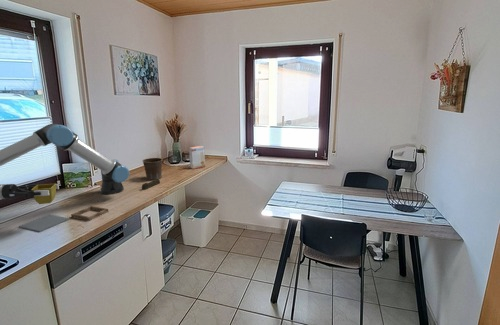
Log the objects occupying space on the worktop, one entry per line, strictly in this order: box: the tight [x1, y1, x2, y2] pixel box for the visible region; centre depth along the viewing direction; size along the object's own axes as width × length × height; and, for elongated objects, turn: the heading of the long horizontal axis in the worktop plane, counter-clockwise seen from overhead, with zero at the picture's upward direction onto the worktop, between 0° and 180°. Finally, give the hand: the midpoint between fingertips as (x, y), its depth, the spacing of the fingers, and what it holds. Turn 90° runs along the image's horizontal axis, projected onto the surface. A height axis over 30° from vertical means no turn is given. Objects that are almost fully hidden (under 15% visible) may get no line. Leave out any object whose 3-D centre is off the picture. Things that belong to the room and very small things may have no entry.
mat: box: [18, 214, 70, 233], centre depth 148 cm, size 16×16×1 cm
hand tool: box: [141, 179, 161, 191], centre depth 210 cm, size 19×4×5 cm, turn 159°
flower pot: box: [31, 183, 57, 205], centre depth 145 cm, size 9×9×9 cm
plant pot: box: [142, 157, 163, 181], centre depth 231 cm, size 16×16×16 cm
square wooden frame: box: [70, 205, 109, 222], centre depth 159 cm, size 13×13×2 cm
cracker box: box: [188, 145, 206, 170], centre depth 268 cm, size 14×6×21 cm, turn 130°
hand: (53, 189), depth 145 cm, fingers closed on flower pot, 10 cm apart
